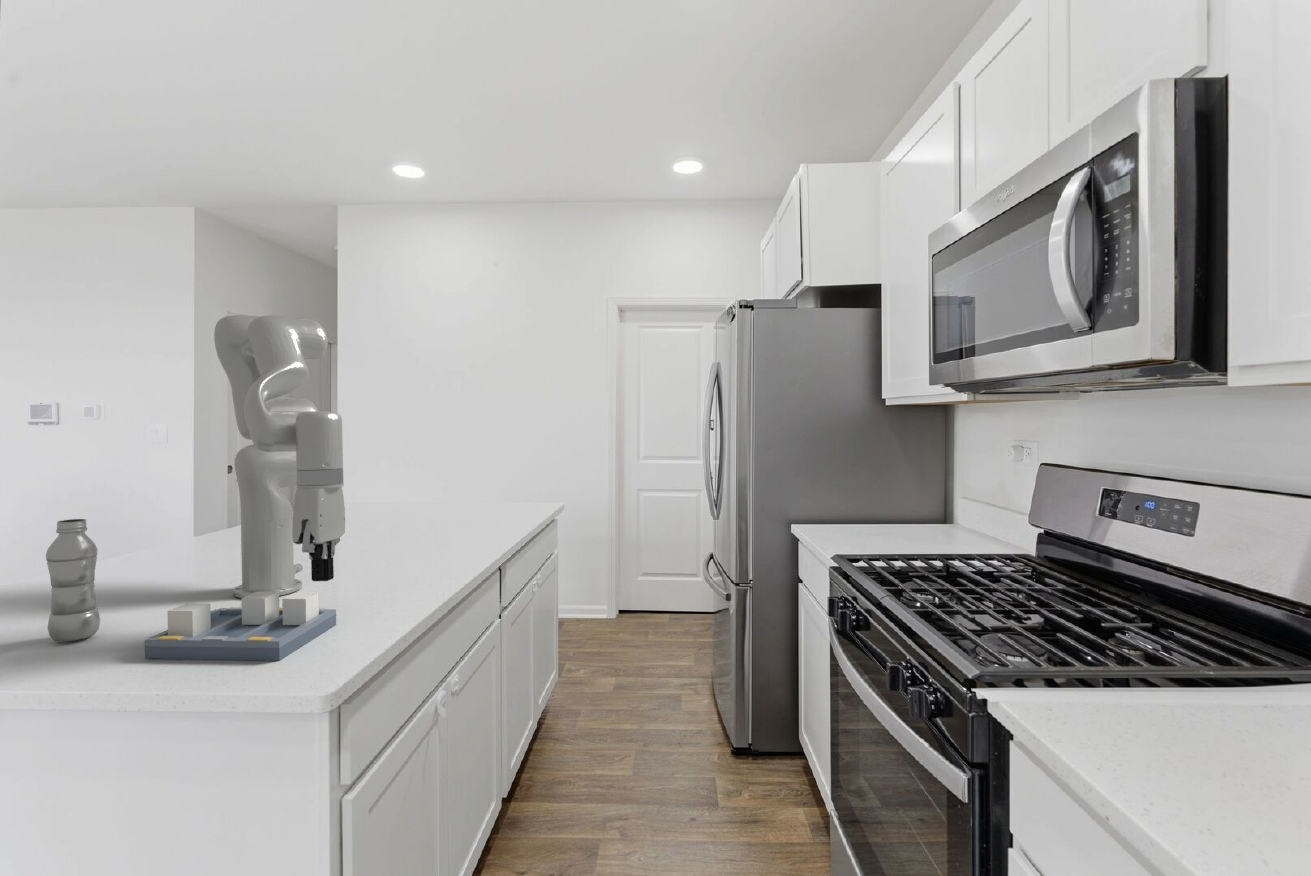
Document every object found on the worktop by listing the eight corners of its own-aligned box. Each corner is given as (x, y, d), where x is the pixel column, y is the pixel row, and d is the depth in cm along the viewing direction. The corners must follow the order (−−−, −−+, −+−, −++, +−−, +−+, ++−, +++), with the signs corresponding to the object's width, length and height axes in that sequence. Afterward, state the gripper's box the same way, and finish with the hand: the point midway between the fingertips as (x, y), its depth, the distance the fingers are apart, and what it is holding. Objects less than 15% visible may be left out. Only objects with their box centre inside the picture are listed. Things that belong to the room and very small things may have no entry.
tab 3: (296, 617, 113) (295, 592, 112) (318, 617, 113) (318, 592, 112) (282, 624, 109) (282, 598, 108) (306, 625, 109) (305, 598, 108)
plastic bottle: (69, 647, 103) (66, 524, 103) (36, 644, 105) (33, 522, 104) (110, 634, 110) (108, 518, 109) (79, 631, 111) (76, 516, 110)
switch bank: (221, 623, 116) (220, 605, 116) (336, 624, 116) (335, 607, 116) (144, 658, 99) (144, 638, 99) (279, 660, 99) (279, 640, 99)
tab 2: (256, 617, 113) (256, 591, 113) (279, 617, 113) (279, 592, 113) (241, 624, 109) (241, 598, 109) (265, 624, 109) (264, 598, 109)
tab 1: (186, 630, 106) (186, 603, 105) (210, 630, 106) (210, 603, 105) (168, 638, 102) (167, 610, 101) (192, 639, 102) (192, 611, 101)
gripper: (322, 476, 124) (324, 571, 124) (274, 483, 109) (277, 590, 109) (360, 476, 124) (362, 570, 124) (318, 482, 109) (321, 590, 109)
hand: (322, 579), depth 116 cm, fingers closed
